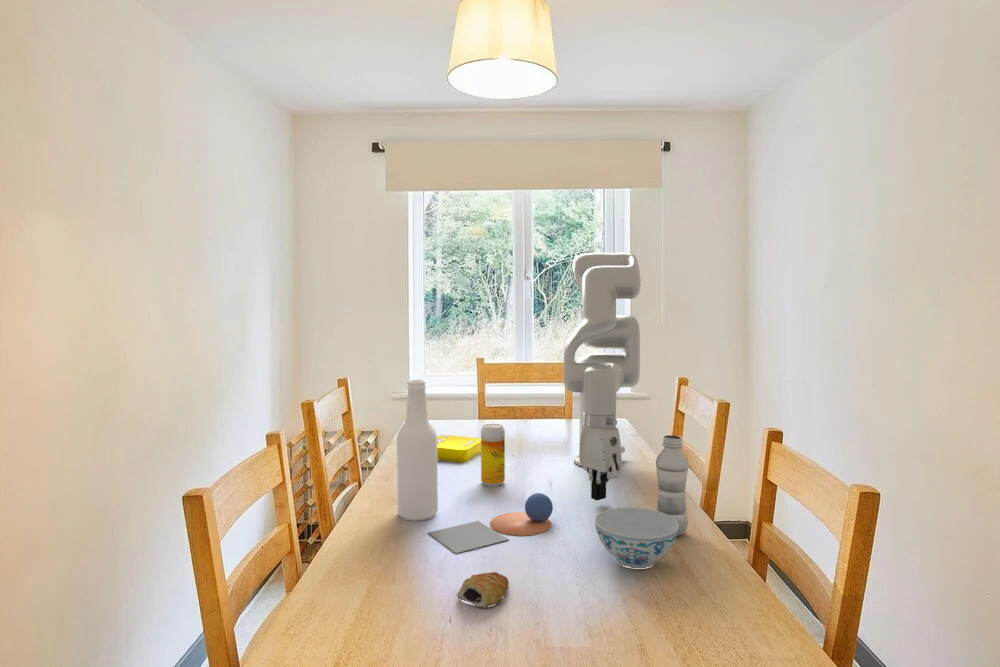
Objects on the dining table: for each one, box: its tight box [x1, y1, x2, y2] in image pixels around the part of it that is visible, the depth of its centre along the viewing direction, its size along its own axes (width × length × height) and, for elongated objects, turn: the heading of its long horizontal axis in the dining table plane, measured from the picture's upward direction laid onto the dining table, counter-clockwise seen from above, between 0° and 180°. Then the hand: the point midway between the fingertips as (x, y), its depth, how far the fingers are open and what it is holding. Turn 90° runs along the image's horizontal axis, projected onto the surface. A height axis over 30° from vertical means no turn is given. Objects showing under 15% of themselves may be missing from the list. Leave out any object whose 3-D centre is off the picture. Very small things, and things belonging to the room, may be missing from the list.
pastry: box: [456, 571, 510, 608], centre depth 104 cm, size 9×7×4 cm
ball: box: [524, 492, 554, 522], centre depth 137 cm, size 6×6×6 cm
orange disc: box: [489, 511, 552, 537], centre depth 135 cm, size 13×13×1 cm
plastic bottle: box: [655, 434, 689, 537], centre depth 129 cm, size 6×7×20 cm
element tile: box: [437, 434, 481, 463], centre depth 192 cm, size 15×15×5 cm
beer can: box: [480, 423, 506, 487], centre depth 163 cm, size 6×6×15 cm
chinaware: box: [594, 506, 679, 568], centre depth 116 cm, size 15×15×8 cm
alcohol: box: [396, 379, 439, 522], centre depth 140 cm, size 9×9×30 cm
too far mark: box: [427, 520, 510, 555], centre depth 128 cm, size 12×12×1 cm
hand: (598, 498), depth 147 cm, fingers closed
